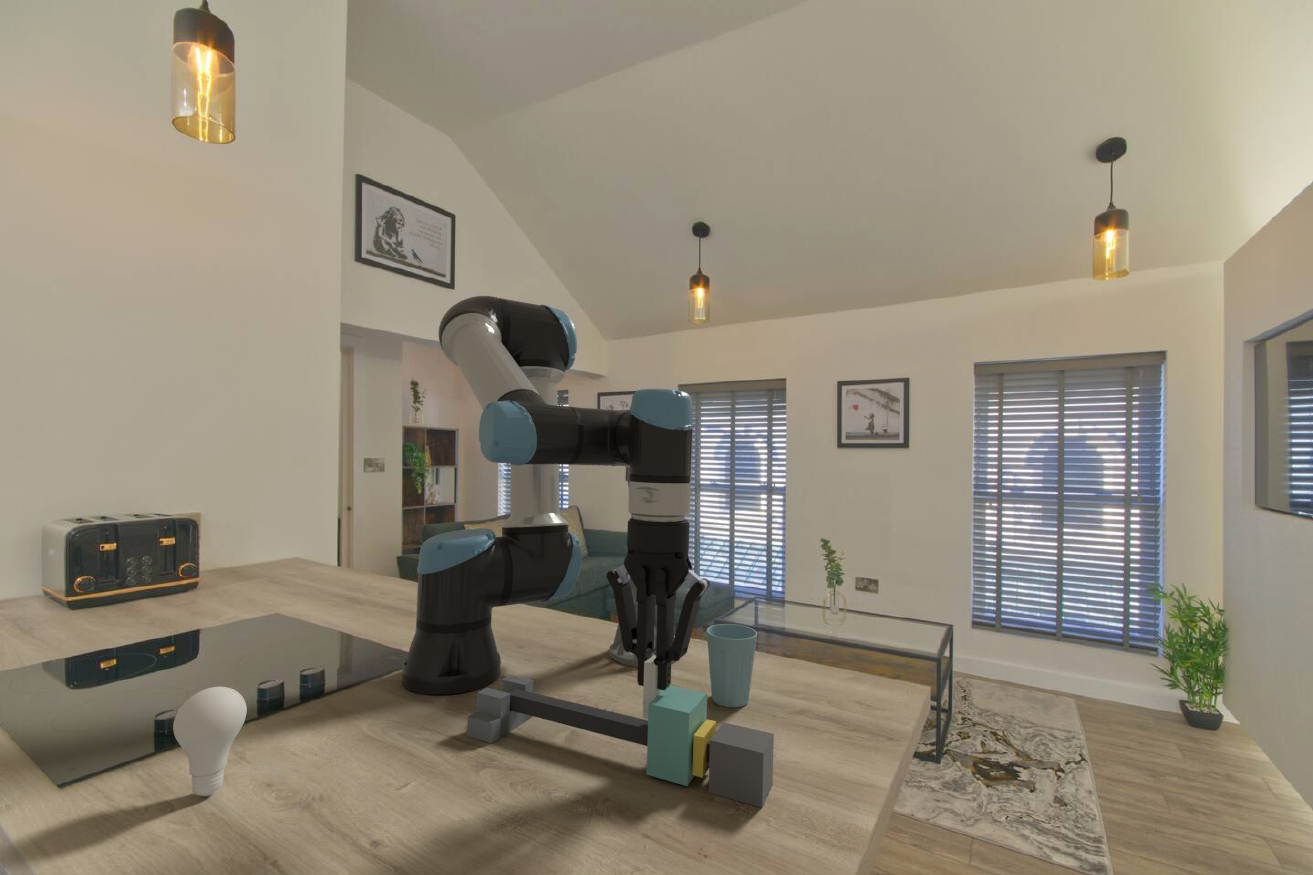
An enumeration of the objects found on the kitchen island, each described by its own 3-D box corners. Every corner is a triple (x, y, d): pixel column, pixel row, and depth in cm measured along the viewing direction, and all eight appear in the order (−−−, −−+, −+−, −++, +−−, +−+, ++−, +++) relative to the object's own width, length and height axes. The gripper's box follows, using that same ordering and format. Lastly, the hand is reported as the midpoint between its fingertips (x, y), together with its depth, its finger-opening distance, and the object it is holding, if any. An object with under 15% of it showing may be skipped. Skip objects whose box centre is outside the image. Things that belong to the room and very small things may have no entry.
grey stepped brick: (467, 736, 74) (468, 696, 74) (516, 706, 83) (517, 671, 83) (491, 743, 72) (493, 703, 72) (539, 711, 81) (540, 676, 82)
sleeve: (646, 774, 66) (648, 703, 66) (667, 750, 71) (669, 685, 71) (687, 786, 63) (689, 713, 64) (705, 760, 69) (707, 693, 69)
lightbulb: (196, 778, 63) (202, 677, 63) (255, 777, 63) (260, 677, 64) (152, 813, 57) (159, 701, 57) (218, 812, 57) (223, 701, 58)
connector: (708, 792, 63) (709, 739, 63) (721, 771, 67) (723, 722, 68) (762, 807, 61) (763, 753, 61) (772, 784, 65) (773, 733, 65)
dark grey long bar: (500, 722, 75) (501, 688, 75) (521, 708, 79) (522, 676, 79) (753, 791, 61) (754, 749, 61) (763, 771, 65) (764, 732, 65)
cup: (766, 706, 85) (767, 635, 86) (721, 714, 82) (722, 641, 83) (738, 687, 92) (739, 621, 93) (696, 694, 89) (698, 626, 90)
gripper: (596, 516, 69) (590, 715, 68) (698, 524, 63) (692, 740, 63) (625, 511, 76) (619, 692, 75) (719, 518, 70) (714, 713, 69)
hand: (653, 713), depth 69 cm, fingers closed
